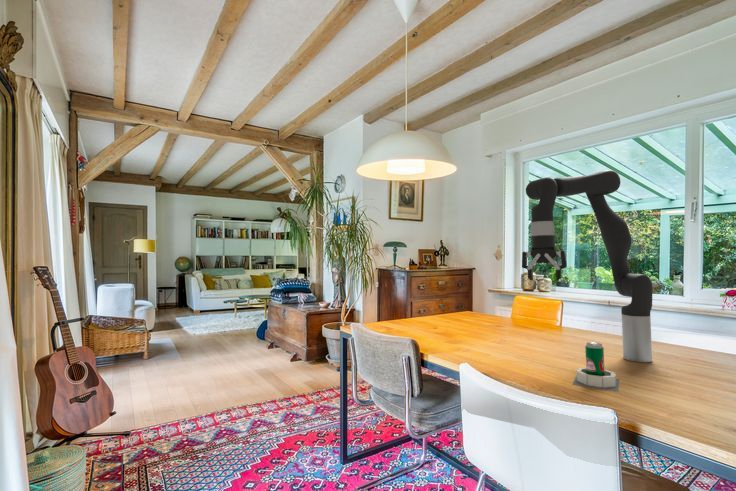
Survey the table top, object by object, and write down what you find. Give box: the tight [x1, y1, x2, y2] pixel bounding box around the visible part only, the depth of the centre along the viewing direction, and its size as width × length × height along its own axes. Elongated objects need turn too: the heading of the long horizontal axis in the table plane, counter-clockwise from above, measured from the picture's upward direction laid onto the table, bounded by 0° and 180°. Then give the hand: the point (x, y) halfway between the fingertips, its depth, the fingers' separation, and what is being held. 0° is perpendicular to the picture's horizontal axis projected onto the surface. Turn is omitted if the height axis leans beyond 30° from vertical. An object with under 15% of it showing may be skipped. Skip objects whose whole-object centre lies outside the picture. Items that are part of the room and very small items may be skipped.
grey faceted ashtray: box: [576, 367, 617, 388], centre depth 120 cm, size 10×10×3 cm
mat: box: [572, 374, 620, 393], centre depth 120 cm, size 14×12×1 cm
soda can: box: [584, 341, 605, 376], centre depth 121 cm, size 5×5×12 cm
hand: (544, 280), depth 133 cm, fingers open, 8 cm apart
